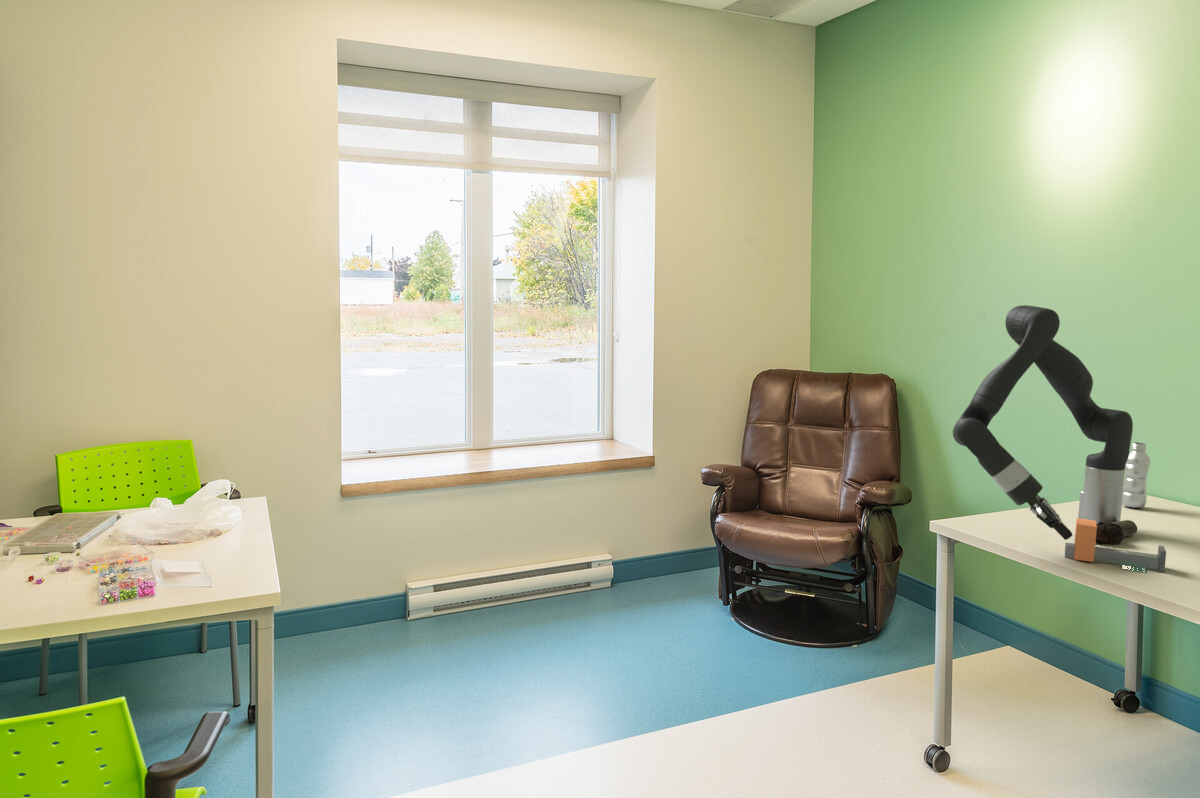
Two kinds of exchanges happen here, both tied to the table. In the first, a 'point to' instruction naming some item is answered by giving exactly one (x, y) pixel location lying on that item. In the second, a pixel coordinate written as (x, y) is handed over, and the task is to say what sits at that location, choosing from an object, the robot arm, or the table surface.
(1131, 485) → the plastic bottle
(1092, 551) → the sleeve
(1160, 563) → the bar
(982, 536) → the table surface
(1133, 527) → the dark brown rough lump
